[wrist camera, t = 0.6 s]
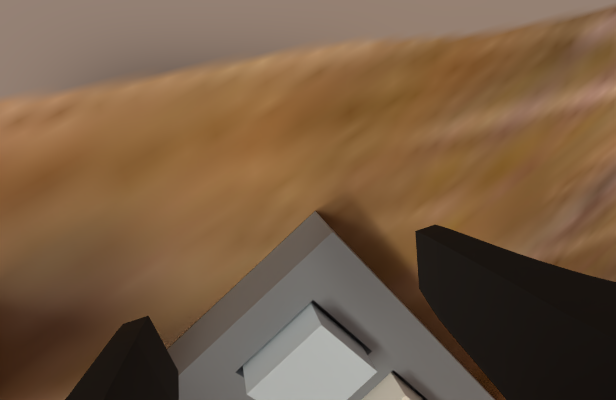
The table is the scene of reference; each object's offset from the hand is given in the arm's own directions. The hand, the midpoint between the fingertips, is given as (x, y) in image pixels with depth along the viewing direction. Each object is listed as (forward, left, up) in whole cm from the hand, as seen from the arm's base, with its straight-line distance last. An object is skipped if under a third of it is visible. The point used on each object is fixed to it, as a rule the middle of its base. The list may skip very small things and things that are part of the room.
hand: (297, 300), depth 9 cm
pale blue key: (-4, -9, -8) cm, 12 cm away
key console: (-4, -17, -10) cm, 20 cm away
